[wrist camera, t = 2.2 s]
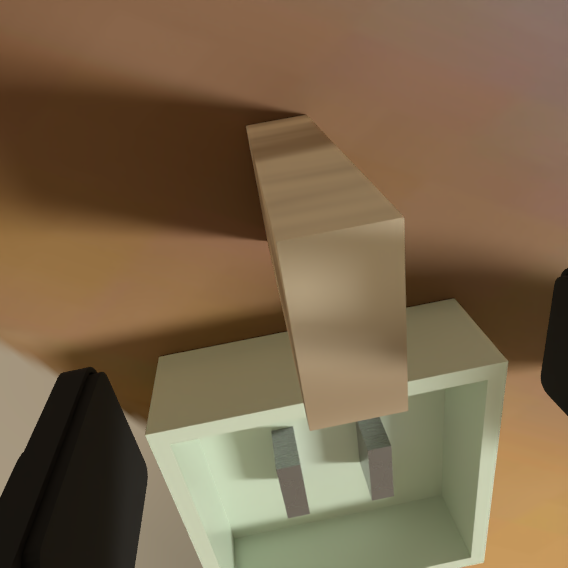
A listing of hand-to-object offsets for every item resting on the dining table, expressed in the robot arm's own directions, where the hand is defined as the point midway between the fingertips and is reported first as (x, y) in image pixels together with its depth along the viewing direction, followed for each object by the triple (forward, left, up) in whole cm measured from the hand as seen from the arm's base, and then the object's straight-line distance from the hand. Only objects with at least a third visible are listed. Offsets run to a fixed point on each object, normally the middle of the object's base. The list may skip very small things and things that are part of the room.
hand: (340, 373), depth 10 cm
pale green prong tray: (+14, 0, -11) cm, 18 cm away
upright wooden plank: (-1, 0, -11) cm, 11 cm away
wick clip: (+14, 0, -11) cm, 18 cm away
